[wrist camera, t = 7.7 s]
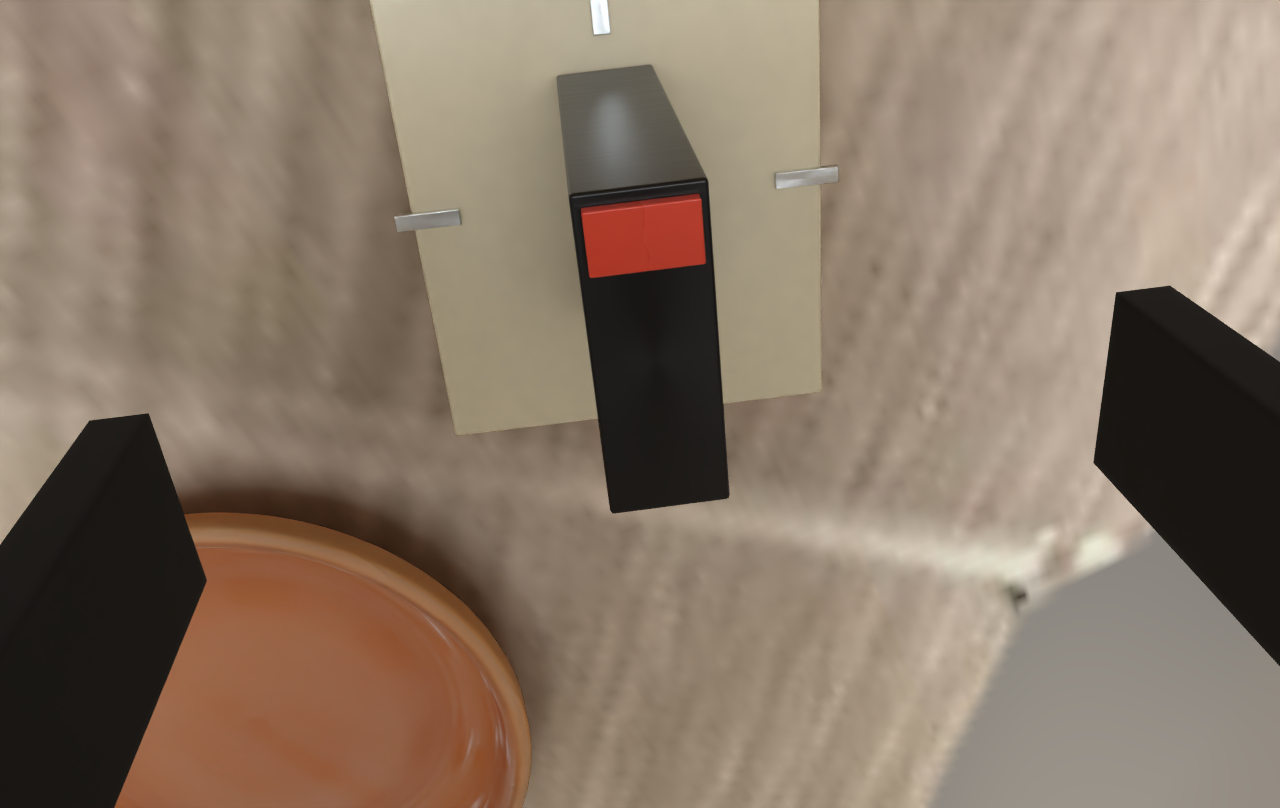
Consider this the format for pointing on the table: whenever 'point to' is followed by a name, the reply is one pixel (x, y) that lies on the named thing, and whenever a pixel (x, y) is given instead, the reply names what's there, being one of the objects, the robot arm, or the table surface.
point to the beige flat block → (538, 195)
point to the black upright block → (645, 289)
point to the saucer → (328, 684)
